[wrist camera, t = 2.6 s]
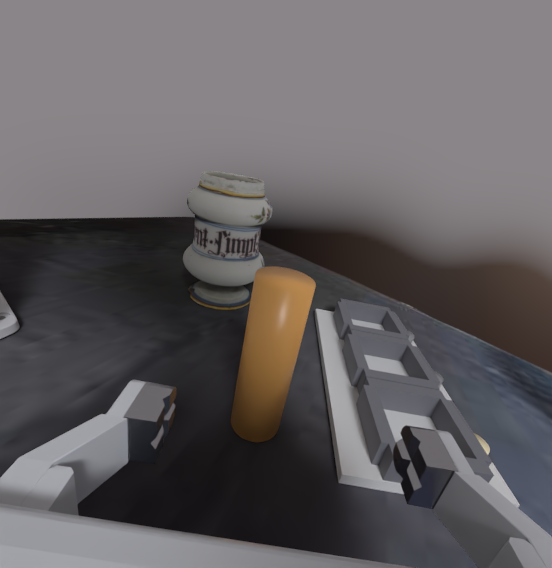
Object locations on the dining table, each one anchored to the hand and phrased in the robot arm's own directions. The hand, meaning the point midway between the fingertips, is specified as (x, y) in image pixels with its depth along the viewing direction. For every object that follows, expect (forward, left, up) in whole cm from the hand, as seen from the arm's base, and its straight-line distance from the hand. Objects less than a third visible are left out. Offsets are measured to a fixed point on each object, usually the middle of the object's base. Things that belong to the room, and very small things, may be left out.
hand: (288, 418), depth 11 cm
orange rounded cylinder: (-10, +8, -14) cm, 18 cm away
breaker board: (-8, +24, -14) cm, 29 cm away
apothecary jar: (-33, +16, -14) cm, 39 cm away
